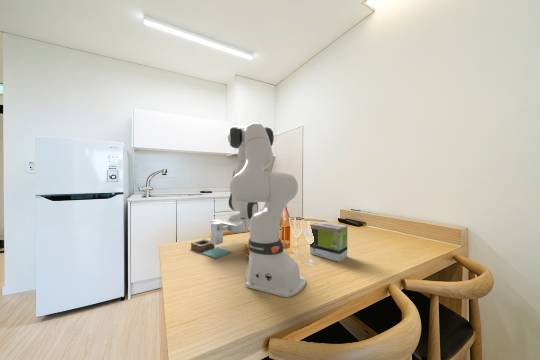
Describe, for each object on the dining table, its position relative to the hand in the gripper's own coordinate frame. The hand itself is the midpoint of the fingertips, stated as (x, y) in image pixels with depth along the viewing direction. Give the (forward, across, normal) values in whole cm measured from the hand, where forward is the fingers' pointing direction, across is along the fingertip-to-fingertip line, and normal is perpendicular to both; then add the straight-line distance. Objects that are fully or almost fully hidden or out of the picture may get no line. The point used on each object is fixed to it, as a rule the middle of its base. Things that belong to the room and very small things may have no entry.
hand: (215, 228), depth 98 cm
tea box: (-31, +45, +12) cm, 56 cm away
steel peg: (-1, 0, +8) cm, 8 cm away
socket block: (-1, -11, +12) cm, 16 cm away
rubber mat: (-1, 0, +12) cm, 12 cm away
